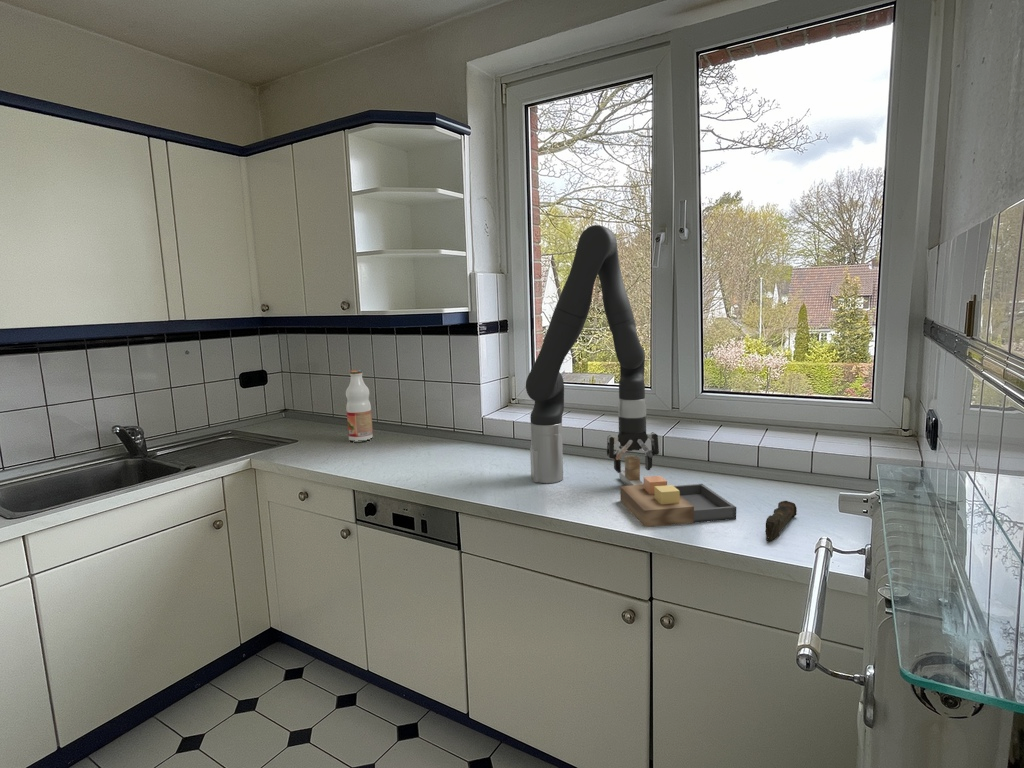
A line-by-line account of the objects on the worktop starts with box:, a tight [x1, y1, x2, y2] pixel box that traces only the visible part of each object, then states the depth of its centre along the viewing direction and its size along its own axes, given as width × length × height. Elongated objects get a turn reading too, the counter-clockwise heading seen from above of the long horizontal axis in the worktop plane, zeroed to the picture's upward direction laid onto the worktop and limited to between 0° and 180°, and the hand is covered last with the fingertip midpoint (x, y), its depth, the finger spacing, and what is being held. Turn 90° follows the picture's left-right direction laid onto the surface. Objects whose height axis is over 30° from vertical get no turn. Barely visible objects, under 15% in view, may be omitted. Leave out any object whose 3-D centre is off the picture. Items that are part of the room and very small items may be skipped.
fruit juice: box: [345, 369, 374, 441], centre depth 229 cm, size 9×9×28 cm
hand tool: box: [764, 500, 798, 543], centre depth 131 cm, size 19×4×5 cm, turn 141°
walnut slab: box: [619, 485, 695, 528], centre depth 144 cm, size 12×18×4 cm, turn 7°
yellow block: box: [654, 484, 680, 504], centre depth 139 cm, size 4×4×3 cm
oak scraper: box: [618, 455, 644, 486], centre depth 163 cm, size 3×15×8 cm, turn 6°
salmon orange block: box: [643, 475, 668, 494], centre depth 147 cm, size 4×4×3 cm
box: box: [673, 483, 737, 524], centre depth 145 cm, size 10×18×3 cm, turn 7°
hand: (633, 470), depth 163 cm, fingers open, 8 cm apart
